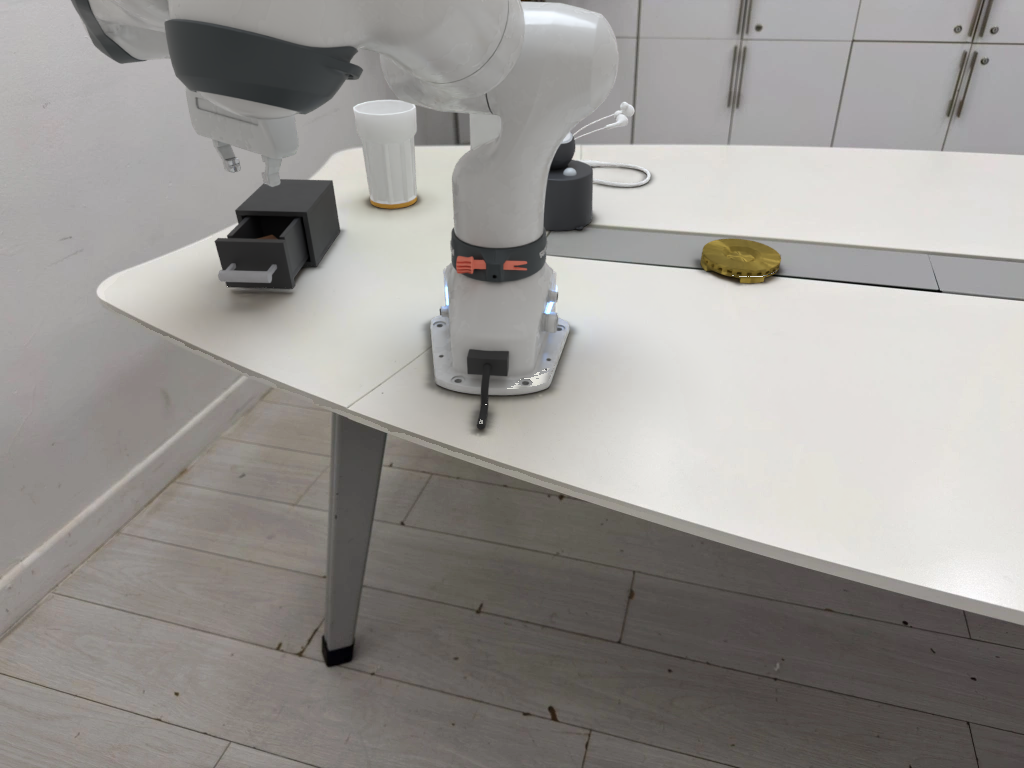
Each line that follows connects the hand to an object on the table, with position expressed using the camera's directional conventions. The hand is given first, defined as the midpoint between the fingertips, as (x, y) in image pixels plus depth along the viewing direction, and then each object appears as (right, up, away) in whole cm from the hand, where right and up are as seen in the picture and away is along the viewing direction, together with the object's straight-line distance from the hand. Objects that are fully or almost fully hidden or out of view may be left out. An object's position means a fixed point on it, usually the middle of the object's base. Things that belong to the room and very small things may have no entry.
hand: (252, 177), depth 95 cm
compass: (+73, -10, +13) cm, 75 cm away
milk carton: (+33, +13, +45) cm, 58 cm away
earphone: (+57, +16, +49) cm, 77 cm away
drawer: (0, -12, +8) cm, 15 cm away
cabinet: (+1, -6, +18) cm, 19 cm away
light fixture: (+45, +1, +29) cm, 54 cm away
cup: (+14, +7, +36) cm, 39 cm away
